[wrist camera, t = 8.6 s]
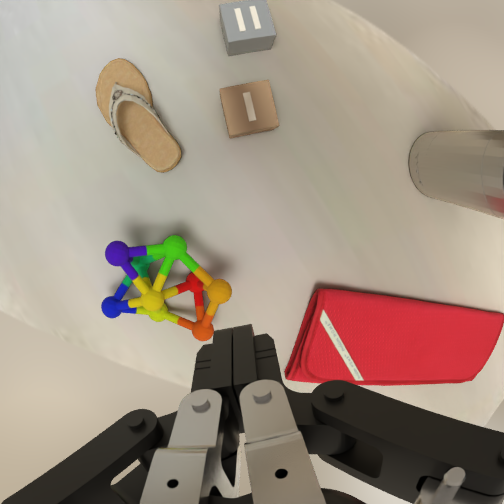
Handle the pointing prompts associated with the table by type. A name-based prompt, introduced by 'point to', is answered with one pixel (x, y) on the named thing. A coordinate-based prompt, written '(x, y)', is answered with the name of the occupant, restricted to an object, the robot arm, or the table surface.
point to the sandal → (135, 115)
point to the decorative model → (153, 298)
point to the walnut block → (249, 108)
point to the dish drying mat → (390, 340)
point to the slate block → (247, 26)
